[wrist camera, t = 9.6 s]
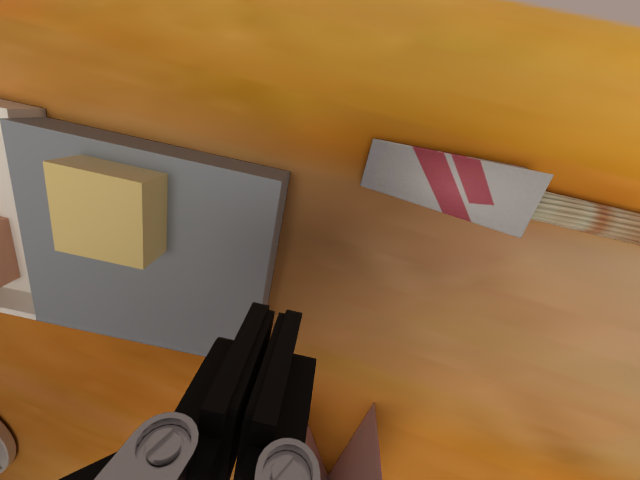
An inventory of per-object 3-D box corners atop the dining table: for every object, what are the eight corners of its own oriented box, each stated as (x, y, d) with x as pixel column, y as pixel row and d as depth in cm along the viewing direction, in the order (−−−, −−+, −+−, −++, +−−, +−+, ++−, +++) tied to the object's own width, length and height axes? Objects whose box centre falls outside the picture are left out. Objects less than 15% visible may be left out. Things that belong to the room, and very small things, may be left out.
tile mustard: (166, 251, 20) (143, 269, 18) (88, 233, 20) (54, 250, 18) (167, 173, 18) (141, 183, 16) (81, 154, 18) (42, 160, 16)
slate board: (261, 339, 26) (252, 366, 23) (69, 297, 26) (36, 320, 23) (290, 171, 20) (282, 181, 18) (46, 117, 20) (-1, 118, 17)
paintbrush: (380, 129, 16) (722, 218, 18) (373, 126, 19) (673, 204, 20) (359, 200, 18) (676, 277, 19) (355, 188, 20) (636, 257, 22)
